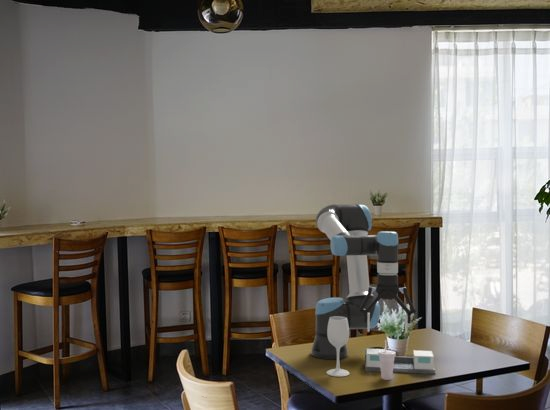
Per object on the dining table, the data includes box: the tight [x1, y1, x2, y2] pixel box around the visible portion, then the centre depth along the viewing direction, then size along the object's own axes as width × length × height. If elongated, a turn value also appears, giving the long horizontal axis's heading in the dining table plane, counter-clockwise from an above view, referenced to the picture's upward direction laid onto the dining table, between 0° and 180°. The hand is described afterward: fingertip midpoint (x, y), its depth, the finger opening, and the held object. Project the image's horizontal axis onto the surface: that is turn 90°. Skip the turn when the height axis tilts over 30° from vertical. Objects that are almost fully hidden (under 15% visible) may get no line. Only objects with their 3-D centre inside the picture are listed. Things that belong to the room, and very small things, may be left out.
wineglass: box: [326, 316, 350, 378], centre depth 238 cm, size 9×9×21 cm
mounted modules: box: [365, 347, 435, 370], centre depth 244 cm, size 25×8×5 cm, turn 81°
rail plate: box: [364, 354, 436, 375], centre depth 245 cm, size 26×10×4 cm, turn 81°
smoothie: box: [378, 339, 397, 381], centre depth 233 cm, size 6×6×14 cm
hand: (387, 331), depth 232 cm, fingers open, 13 cm apart
